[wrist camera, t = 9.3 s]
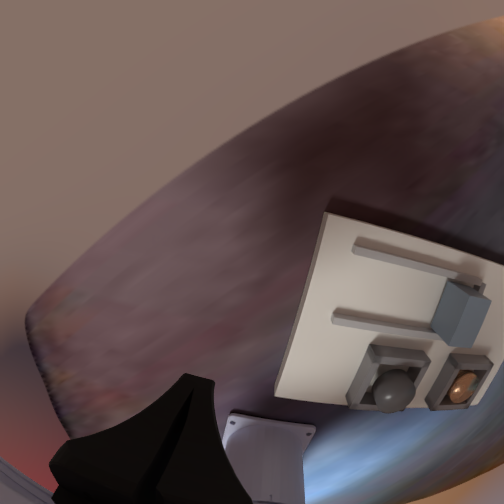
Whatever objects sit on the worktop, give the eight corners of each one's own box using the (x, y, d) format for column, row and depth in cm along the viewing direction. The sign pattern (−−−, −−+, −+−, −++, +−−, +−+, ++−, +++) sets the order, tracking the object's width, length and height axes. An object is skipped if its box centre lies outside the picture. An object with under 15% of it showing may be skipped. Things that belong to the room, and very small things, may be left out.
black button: (397, 400, 19) (404, 413, 17) (365, 398, 19) (370, 412, 17) (414, 370, 18) (422, 382, 16) (381, 367, 18) (388, 380, 16)
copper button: (460, 392, 20) (467, 402, 18) (438, 392, 20) (445, 403, 18) (475, 366, 19) (484, 375, 17) (454, 365, 19) (462, 375, 17)
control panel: (471, 396, 22) (483, 413, 19) (274, 384, 22) (274, 410, 19) (527, 274, 18) (547, 284, 15) (324, 211, 19) (333, 217, 16)
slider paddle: (452, 329, 18) (471, 348, 15) (429, 326, 18) (448, 346, 15) (469, 286, 17) (491, 300, 14) (447, 280, 17) (469, 295, 14)
